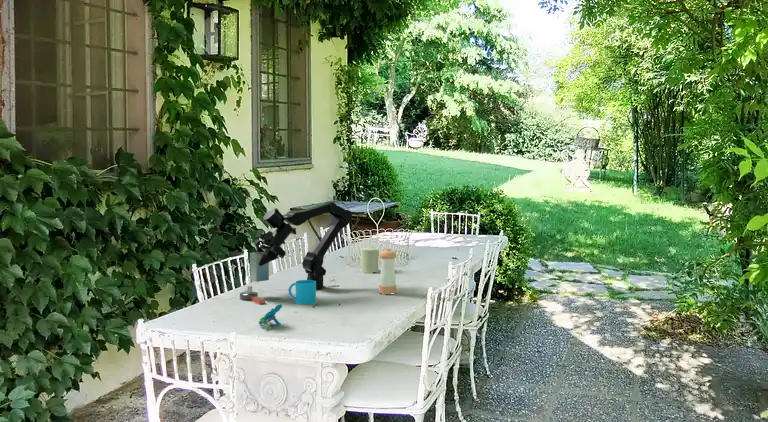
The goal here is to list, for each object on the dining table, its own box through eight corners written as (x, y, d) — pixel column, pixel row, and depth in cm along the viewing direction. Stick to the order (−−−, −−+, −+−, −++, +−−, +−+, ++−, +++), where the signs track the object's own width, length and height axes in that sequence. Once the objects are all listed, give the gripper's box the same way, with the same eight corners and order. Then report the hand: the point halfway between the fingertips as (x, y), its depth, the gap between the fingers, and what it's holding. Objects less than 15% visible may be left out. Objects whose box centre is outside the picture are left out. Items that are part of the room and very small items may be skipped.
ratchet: (252, 295, 268) (252, 283, 268) (270, 302, 256) (270, 290, 256) (236, 297, 264) (236, 285, 263) (254, 305, 252) (253, 292, 251)
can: (382, 271, 323) (382, 247, 322) (371, 274, 315) (372, 249, 314) (366, 269, 328) (367, 245, 327) (356, 271, 320) (356, 248, 319)
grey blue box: (262, 277, 269) (262, 251, 268) (268, 280, 265) (268, 253, 264) (250, 279, 266) (249, 253, 265) (256, 281, 262) (256, 255, 260)
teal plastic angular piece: (269, 315, 232) (284, 298, 227) (280, 327, 231) (295, 311, 226) (250, 326, 222) (265, 310, 217) (261, 339, 221) (276, 323, 216)
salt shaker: (398, 292, 277) (399, 248, 275) (391, 295, 270) (392, 250, 268) (383, 290, 280) (384, 246, 278) (376, 293, 274) (376, 249, 272)
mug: (319, 300, 261) (319, 281, 260) (309, 305, 253) (309, 284, 252) (293, 297, 265) (293, 278, 264) (283, 302, 258) (283, 282, 257)
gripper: (257, 220, 273) (233, 248, 267) (278, 225, 258) (254, 255, 253) (273, 237, 278) (250, 265, 273) (296, 243, 264) (272, 272, 258)
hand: (256, 264), depth 264 cm, fingers closed on grey blue box, 6 cm apart
